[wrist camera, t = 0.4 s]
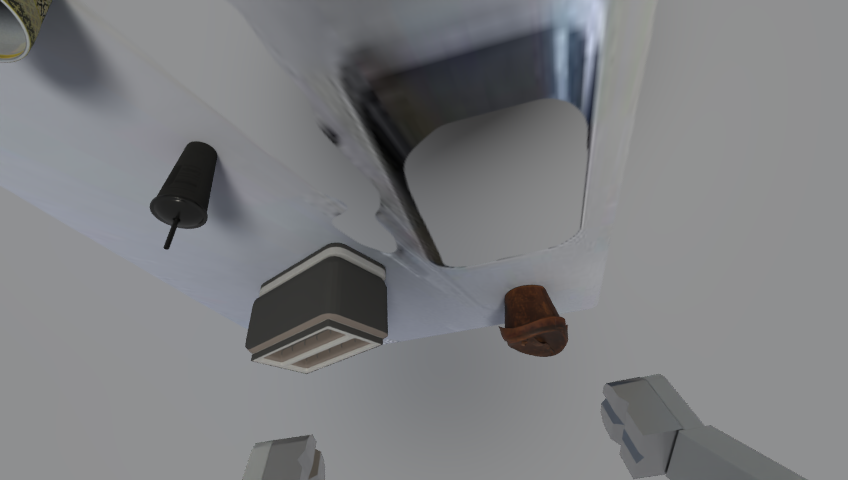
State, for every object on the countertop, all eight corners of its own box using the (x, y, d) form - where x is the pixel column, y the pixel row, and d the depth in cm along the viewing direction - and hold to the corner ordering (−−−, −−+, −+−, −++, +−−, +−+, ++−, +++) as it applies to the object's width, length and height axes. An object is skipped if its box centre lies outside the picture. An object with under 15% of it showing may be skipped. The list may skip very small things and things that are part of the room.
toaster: (249, 290, 107) (234, 364, 95) (334, 238, 91) (329, 320, 79) (307, 311, 120) (300, 379, 108) (391, 268, 103) (393, 343, 92)
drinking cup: (175, 161, 69) (135, 256, 57) (176, 128, 63) (132, 226, 52) (223, 173, 72) (195, 266, 60) (228, 143, 66) (197, 239, 55)
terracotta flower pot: (501, 279, 112) (514, 340, 102) (566, 279, 115) (585, 338, 105) (485, 306, 127) (495, 361, 117) (543, 305, 130) (558, 359, 120)
